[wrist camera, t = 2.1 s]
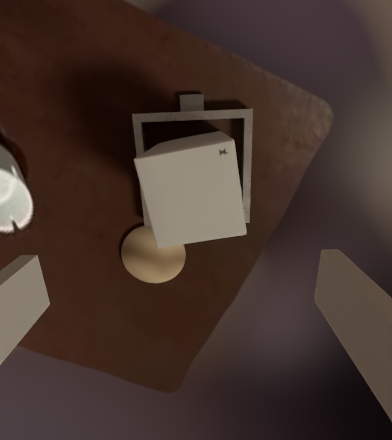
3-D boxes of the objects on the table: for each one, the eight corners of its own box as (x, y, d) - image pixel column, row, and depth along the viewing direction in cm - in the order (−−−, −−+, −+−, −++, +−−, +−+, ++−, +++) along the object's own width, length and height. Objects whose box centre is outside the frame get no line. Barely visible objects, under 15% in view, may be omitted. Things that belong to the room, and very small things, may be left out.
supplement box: (156, 142, 36) (129, 155, 22) (221, 129, 36) (236, 135, 22) (170, 205, 39) (154, 251, 25) (230, 194, 39) (248, 236, 25)
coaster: (118, 225, 41) (116, 226, 40) (183, 223, 40) (183, 224, 40) (126, 281, 44) (125, 283, 43) (187, 280, 44) (187, 282, 43)
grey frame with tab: (133, 97, 34) (129, 96, 33) (250, 92, 34) (253, 90, 32) (148, 233, 41) (146, 238, 39) (246, 230, 41) (248, 235, 39)
